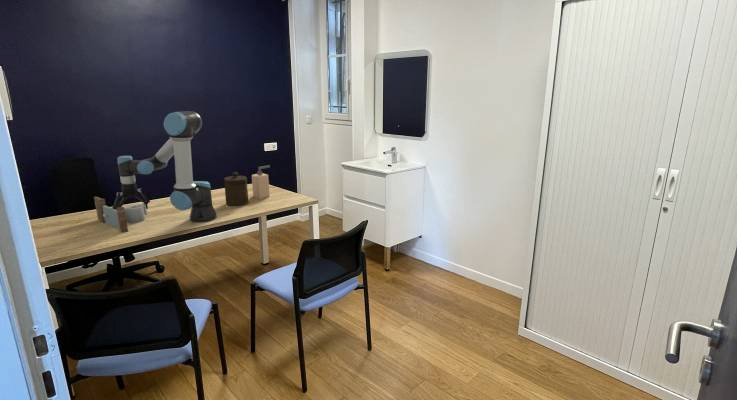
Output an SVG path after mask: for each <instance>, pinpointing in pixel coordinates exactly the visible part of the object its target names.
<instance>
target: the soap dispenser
mask: <svg viewBox="0 0 737 400" xmlns="http://www.w3.org/2000/svg"><path fill="white" fill-rule="evenodd" d="M268 168H269V169H270V168H271V165H263V166H258V171H257V173H255V174H251V183H252V185H251V186H252V197H254V198H256V199H259V200H261V199H264V197H265V198H269V197H270V196H271V195H270V181H269V174H266V173H263V171H262V170H264V169H268ZM268 196H269V197H268ZM260 198H261V199H260Z"/></svg>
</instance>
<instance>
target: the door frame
mask: <svg viewBox="0 0 737 400" xmlns="http://www.w3.org/2000/svg"><path fill="white" fill-rule="evenodd" d="M93 199H94V200H93V201H94V204H95V205H94V206H95V210H96V216H97V220H98V221H100V222H101V223H102V224H107V223H106V222H105V218H104V217H103V214H104V212H103V207H102V206H104V205H106V198H101V197H98V196H94V197H93ZM106 206H107V205H106ZM117 214H118V220H119V226H120V229H119V232H120V233H121V234H124V233H128V232H129V228H128V222H127V220H126V215H125V207H124V206H122V207H118V208H117Z"/></svg>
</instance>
